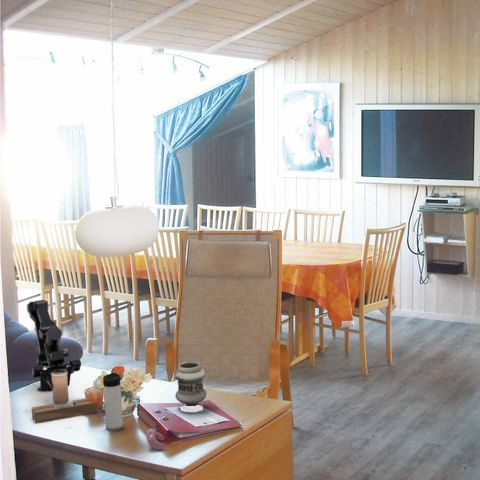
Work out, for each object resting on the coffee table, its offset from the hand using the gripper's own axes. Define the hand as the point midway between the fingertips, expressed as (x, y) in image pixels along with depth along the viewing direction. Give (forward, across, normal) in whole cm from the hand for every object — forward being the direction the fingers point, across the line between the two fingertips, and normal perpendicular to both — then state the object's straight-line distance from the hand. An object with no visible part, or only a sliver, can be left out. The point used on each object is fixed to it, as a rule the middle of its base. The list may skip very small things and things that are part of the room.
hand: (60, 387), depth 317 cm
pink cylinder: (+4, 0, +6) cm, 7 cm away
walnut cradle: (+11, 0, +3) cm, 11 cm away
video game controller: (+43, +22, -30) cm, 57 cm away
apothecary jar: (+23, +46, -10) cm, 52 cm away
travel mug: (+27, +13, -13) cm, 33 cm away
